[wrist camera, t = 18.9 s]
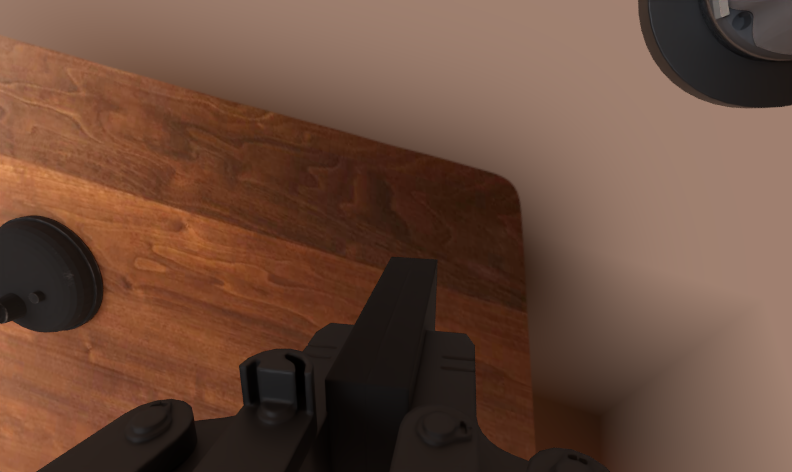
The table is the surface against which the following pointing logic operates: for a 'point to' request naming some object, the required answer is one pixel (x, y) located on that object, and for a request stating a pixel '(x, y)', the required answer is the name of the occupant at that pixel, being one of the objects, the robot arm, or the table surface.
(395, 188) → the table surface
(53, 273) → the desk lamp
